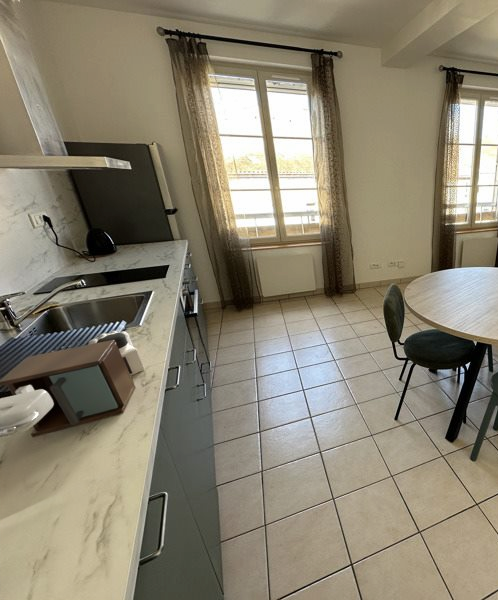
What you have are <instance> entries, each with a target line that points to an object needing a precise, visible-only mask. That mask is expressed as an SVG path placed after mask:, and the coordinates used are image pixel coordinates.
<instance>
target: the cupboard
mask: <svg viewBox="0 0 498 600" xmlns="http://www.w3.org/2000/svg"><path fill="white" fill-rule="evenodd" d="M94 365H98V366H99V368H100V370H101V372H102V374H103V376H104V378H105V380H106V382H107V384H108V386H109V388H110V390H111V393H112V395H113V397H114V399H115V401H116V403H117V405H118V407H117V408H115V409H111V410H108V411H104V412H100V413H96V414H93V415H89V416H85V417H81V419H80V422H79V423H78V424H76V425H71V424H70V422H69V421H68V419H67V417H66V415H65V414H64V412H63V410H62V408H61V407H60V405H59V403H58V401H57V399H56V398H55V396H54V394H53V392H52V391H51V389H50V387H51V386H52V385H53V383H52V381H51V379H50V377H49V376H50V375H53V374H57V373H62V372H67V371H71V370H76V369H80V368H85V367H89V366H94ZM27 385H32V387H33V389H34V391H35V390H40V389H43V390H45V391H47V392H48V393H49V395H50V396H51V398H52V400H53V403H54V405H53V407H52V408H51V409H50V411H49V412H48V413H47V414H46V415H45V416H44V417H43V418H42V419H40V420H39V421H38V422H37V423H36V424H35V425H34V426H32V428H33V430H32V431H31V433H30V436H31V437H32V438H35V437H38V436H42V435H46V434H49V433H53V432H57V431H61V430H65V429H68V428H72V427H76V426H79V425H84V424H87V423H91V422H95V421H99V420H101V419H105V418H109V417H113V416H117V415H120V414H124V413H125V410H126V409H127V407H128V404H129V402H130V401H131V398H132V396H133V394H134V392H135V390H136V388H137V387H136V385H135V383H134V381H133V378H132V375H131V376H130V373H129V371H128V369H127V367H126V364H125V362H124V360H123V358H122V355H121V353H120V351H119V349H118V347H117V344H116V342H115V340H110V341H105V342H100V343H95V344H90V345H89V344H86V345H80V346H75V347H70V348H65V349H60V350H54V351H50V352H46V353H45V352H44V353H40V354H35V355H31V356H26V357H25V358H24V359H23V360H22V361H21V362H19V363H18V364H17V365H16V366H15V367H14V368H12V370H10V371H8V373H7V374H6V375H4V377H2V378H1V379H0V387H4V386H7V388H8V390H9V392H11V394H12V396H14V395H16V393H15V391H16V390H17V389H18V388H19V387H23V386H27Z"/></svg>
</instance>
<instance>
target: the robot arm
mask: <svg viewBox="0 0 498 600" xmlns="http://www.w3.org/2000/svg"><path fill="white" fill-rule="evenodd" d="M15 393H16V395H14V396H13V395H10V396H6V397H5V396H4V397H1V398H0V439H4V438H8V437H11V436H15V435H19V434H21V433H23V432H25V431H27V430H29V429H31V428H33V426H34V425H35V424H36V423H37V422H38V421H39V420H40V419H42V418H43V417H44V416H45V415H46V414H47V413H48V412H49V411H50V409H51V408H52V407H53V405H54V403H53V400H52V398H51V396H50V395H49V393H48V392H47V391H45V390H43V389H40V390H35V391H34V389H33V387H32V385H27V386H23V387H19V388H18V389H17V390H16V391H15Z"/></svg>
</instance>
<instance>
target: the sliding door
mask: <svg viewBox="0 0 498 600" xmlns="http://www.w3.org/2000/svg"><path fill="white" fill-rule="evenodd" d="M49 377H50V379H51V381H52V383H53V385H52V386H51V387H50V389H51V391H52V392H53V394H54V396H55V398H56V399H57V401H58V403H59V405H60V407H61V408H62V410H63V412H64V414H65V415H66V417H67V419H68V421H69V422H70V424H71V425H76V424H78V423H79V422H80V419H81V417H85V416H89V415H93V414H96V413H100V412H104V411H108V410H111V409H115V408H117V407H118V405H117V403H116V401H115V399H114V397H113V395H112V393H111V390H110V388H109V386H108V384H107V382H106V380H105V378H104V376H103V374H102V372H101V370H100V368H99V366H98V365H94V366H89V367H85V368H80V369H76V370H71V371H67V372H62V373H57V374H53V375H50V376H49ZM76 426H77V425H76Z"/></svg>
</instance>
